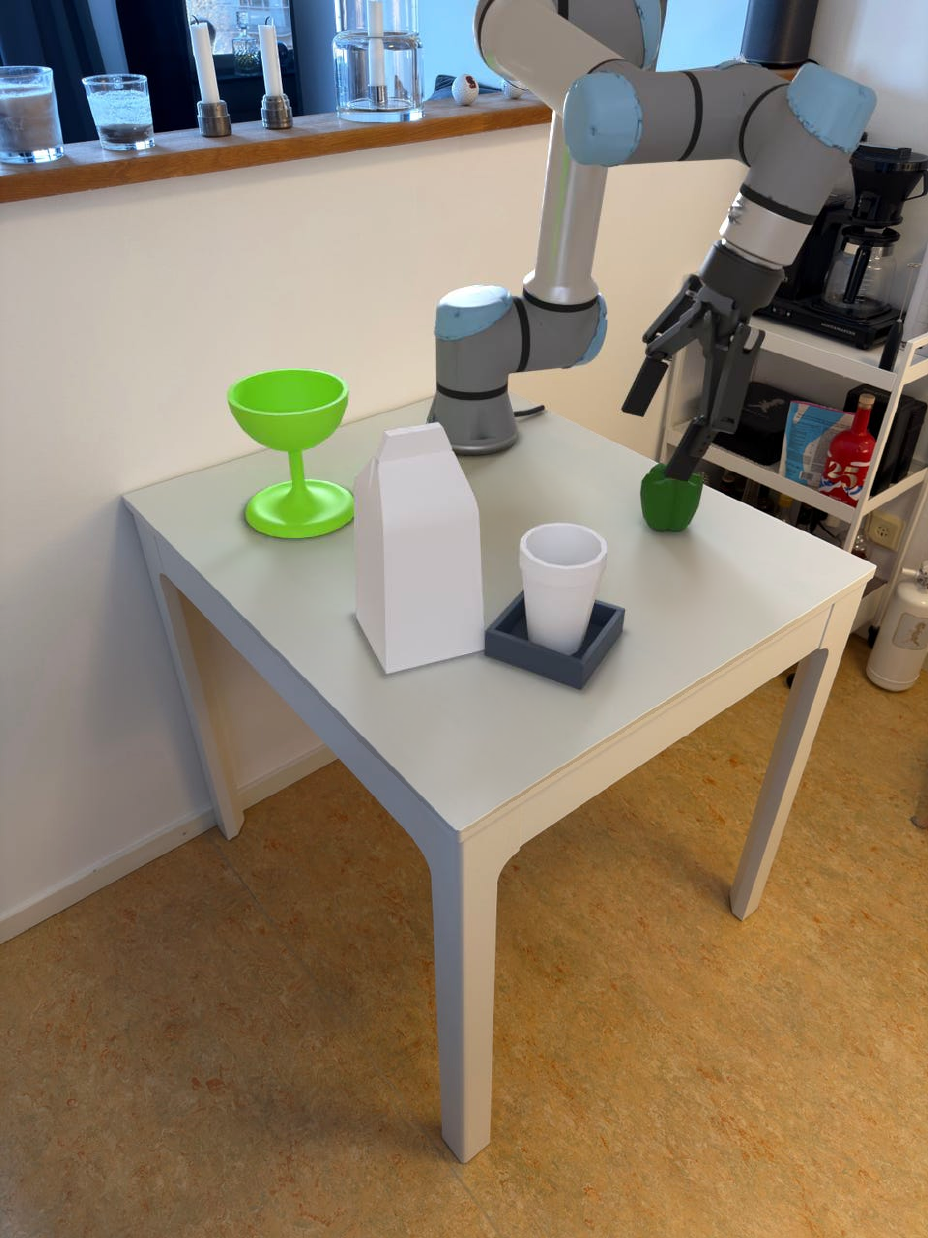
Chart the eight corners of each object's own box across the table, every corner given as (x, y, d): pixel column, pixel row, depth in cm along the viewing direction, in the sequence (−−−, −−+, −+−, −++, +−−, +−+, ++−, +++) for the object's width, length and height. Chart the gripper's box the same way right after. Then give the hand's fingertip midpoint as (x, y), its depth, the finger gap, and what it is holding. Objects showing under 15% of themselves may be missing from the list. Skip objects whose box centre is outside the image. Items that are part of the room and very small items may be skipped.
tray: (531, 602, 111) (532, 579, 109) (622, 632, 107) (625, 608, 105) (484, 655, 103) (484, 630, 101) (581, 690, 98) (583, 665, 96)
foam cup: (536, 607, 110) (542, 515, 102) (607, 630, 106) (619, 535, 98) (501, 650, 103) (505, 554, 95) (576, 675, 99) (586, 578, 92)
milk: (386, 674, 100) (374, 462, 85) (356, 617, 109) (340, 415, 93) (484, 649, 104) (490, 442, 88) (448, 596, 112) (447, 399, 97)
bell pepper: (682, 545, 122) (694, 479, 116) (627, 528, 126) (636, 463, 120) (704, 519, 128) (717, 455, 122) (651, 503, 132) (660, 441, 126)
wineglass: (298, 551, 120) (283, 426, 110) (221, 512, 128) (201, 393, 118) (380, 505, 131) (373, 387, 120) (304, 473, 139) (292, 359, 128)
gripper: (671, 199, 93) (588, 382, 106) (779, 294, 75) (663, 502, 88) (730, 220, 96) (643, 396, 108) (848, 316, 78) (727, 514, 90)
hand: (652, 444), depth 98 cm, fingers open, 13 cm apart
